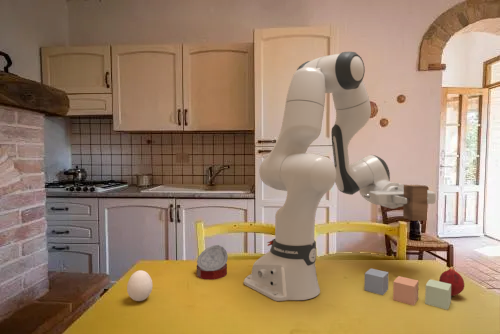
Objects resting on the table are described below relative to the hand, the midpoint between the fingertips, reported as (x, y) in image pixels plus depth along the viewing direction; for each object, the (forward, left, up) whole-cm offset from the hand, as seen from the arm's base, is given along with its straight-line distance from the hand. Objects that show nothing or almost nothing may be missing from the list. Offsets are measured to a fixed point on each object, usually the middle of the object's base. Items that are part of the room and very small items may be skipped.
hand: (417, 201), depth 92 cm
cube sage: (+7, -9, -25) cm, 28 cm away
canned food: (-53, -33, -25) cm, 67 cm away
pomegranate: (+9, -2, -25) cm, 27 cm away
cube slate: (-8, -11, -25) cm, 29 cm away
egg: (-54, -58, -25) cm, 83 cm away
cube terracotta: (0, -12, -25) cm, 28 cm away
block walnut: (-1, +1, -5) cm, 6 cm away
